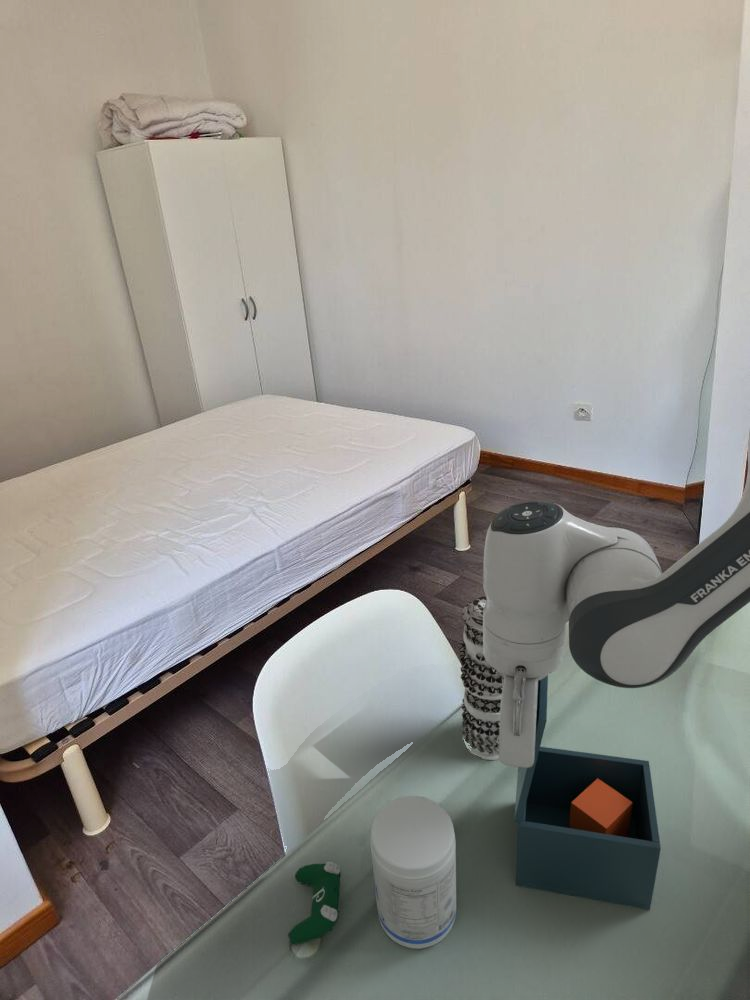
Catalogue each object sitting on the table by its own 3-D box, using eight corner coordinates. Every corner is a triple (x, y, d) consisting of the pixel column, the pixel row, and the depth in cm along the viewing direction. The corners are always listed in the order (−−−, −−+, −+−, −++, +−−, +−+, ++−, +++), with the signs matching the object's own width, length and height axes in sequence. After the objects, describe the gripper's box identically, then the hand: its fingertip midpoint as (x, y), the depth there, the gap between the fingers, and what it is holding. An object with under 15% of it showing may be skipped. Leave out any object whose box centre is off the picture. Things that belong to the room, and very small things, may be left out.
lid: (549, 645, 83) (542, 643, 83) (546, 720, 72) (538, 718, 72) (526, 742, 90) (520, 740, 91) (520, 823, 79) (514, 821, 80)
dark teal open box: (640, 819, 92) (648, 760, 87) (650, 910, 81) (660, 848, 76) (520, 801, 95) (523, 744, 91) (515, 885, 85) (517, 825, 80)
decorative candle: (532, 737, 106) (539, 602, 95) (496, 772, 100) (498, 634, 89) (485, 708, 112) (486, 579, 101) (448, 740, 106) (445, 607, 95)
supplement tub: (377, 875, 87) (369, 794, 80) (452, 873, 87) (450, 790, 80) (377, 955, 78) (368, 870, 72) (461, 952, 78) (459, 867, 71)
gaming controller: (309, 957, 80) (343, 933, 78) (284, 943, 79) (317, 919, 77) (316, 882, 88) (346, 859, 86) (293, 869, 87) (323, 846, 85)
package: (626, 846, 87) (632, 802, 84) (600, 873, 84) (606, 828, 81) (592, 821, 91) (597, 777, 87) (567, 845, 88) (571, 802, 84)
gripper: (550, 710, 66) (545, 810, 72) (554, 591, 84) (549, 679, 90) (484, 702, 67) (484, 801, 74) (501, 587, 85) (500, 674, 91)
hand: (520, 733), depth 82 cm, fingers closed, pressing on lid
